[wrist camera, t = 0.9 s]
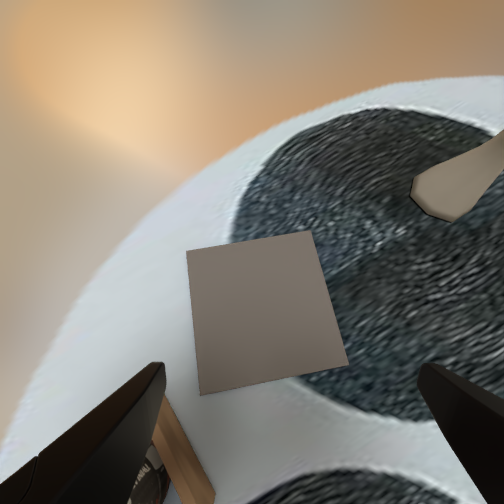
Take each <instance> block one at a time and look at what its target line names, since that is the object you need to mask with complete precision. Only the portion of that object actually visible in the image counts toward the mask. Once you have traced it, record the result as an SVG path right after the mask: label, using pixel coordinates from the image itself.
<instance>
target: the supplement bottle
mask: <svg viewBox="0 0 504 504" xmlns="http://www.w3.org/2000/svg"><path fill="white" fill-rule="evenodd" d="M169 478H170V476H169V474H168V472H167V470H166V468H165V466H164V464H163V461H162V459H161V457H160V455H159V453H158V451H157V449H156V447H155V445H154V442H153V440H151V442H150V445H149V448H148V451H147V453H146V456H145V459H144V461H143V464H142V466H141V469H140V472H139V474H138V477H137V480H136V482H135V485H134V488H133V490H132V493H131V496H130V498H129V501H128V504H163V501H164V499H165V497H166V494H167V490H168V486H169Z"/></svg>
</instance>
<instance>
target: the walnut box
mask: <svg viewBox="0 0 504 504" xmlns="http://www.w3.org/2000/svg"><path fill="white" fill-rule="evenodd" d="M152 440H153V442H154V445H155V447H156V449H157V451H158V453H159V455H160V457H161V459H162V461H163V464H164V466H165V468H166V470H167V472H168V474H169V476H170V478H171V480H172V483H173V485H174V487H175V489H176V491H177V493H178V495H179V497H180V500H181V502H182V504H213V503H214V499H215V492H214V490H213V488H212V486H211V484H210V482H209V480H208V478H207V476H206V474H205V472H204V470H203V468H202V466H201V464H200V462H199V461H198V459H197V457H196V455H195V453H194V451H193V449H192V447H191V445H190V443H189V441H188V439H187V437H186V435H185V433H184V431H183V429H182V427H181V425H180V424H179V422H178V420H177V418H176V416H175V414H174V412H173V410H172V408H171V406H170V404H169V402H168V400H167V398H166V396H165V394H164V396H163V400H162V404H161V407H160V411H159V415H158V418H157V422H156V426H155V429H154V433H153V436H152Z"/></svg>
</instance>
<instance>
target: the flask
mask: <svg viewBox="0 0 504 504" xmlns="http://www.w3.org/2000/svg"><path fill="white" fill-rule="evenodd" d="M503 169H504V130H502V131H501V132H500V133H499V134H497V135H496V136H495V137H494V138H492V139H491V140H489V141H487V142H486V143H484V144H483V145H481V146H479V147H477V148H475V149H473V150H471V151H468V152H466V153H464V154H462V155H460V156H457V157H455V158H453V159H450V160H448V161H445V162H443V163H440V164H438V165H436V166H434V167H431V168H429V169H428V170H426V171H424V172H423V173H421V174H419V175H417V176H416V177H414V180H413V185H412V189H411V194H410V196H411V197H412V198H413V199H414V201H415V202H416V203H417V204H418V205H419V206H420V207H421V208H422V209H423V210H424V211H425V212H426V213H427V214H429V215H432V216H435V217H438V218H441V219H444V220H447V221H450V222H453V221H455V220H456V219H458V218H460V217H461V216H463V215H464V214H466V213H467V212H469V211H470V210H471V209H472V207H473V206H474V205H475V204H476V202H477V201H478V200H479V198H480V197H481V196H482V195H483V193H484V192H485V191H486V189H487V188H488V187H489V186H490V185H491V183H492V182H493V181H494V180H495V179H496V178H497V176H498V175H499V174H500V173H501V172H502V170H503Z"/></svg>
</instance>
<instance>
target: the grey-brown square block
mask: <svg viewBox="0 0 504 504" xmlns="http://www.w3.org/2000/svg"><path fill="white" fill-rule="evenodd" d="M186 254H187V264H188V275H189V285H190V296H191V306H192V316H193V327H194V337H195V348H196V358H197V369H198V379H199V389H200V396H201V395H206V394H211V393H215V392H220V391H225V390H230V389H235V388H240V387H244V386H249V385H254V384H259V383H264V382H269V381H273V380H278V379H283V378H288V377H293V376H297V375H302V374H307V373H312V372H317V371H322V370H326V369H331V368H336V367H341V366H346V365H349V363H348V359H347V356H346V352H345V349H344V345H343V342H342V338H341V335H340V331H339V328H338V325H337V321H336V318H335V314H334V311H333V307H332V304H331V300H330V297H329V293H328V290H327V286H326V283H325V279H324V276H323V272H322V269H321V266H320V262H319V259H318V255H317V252H316V248H315V245H314V241H313V238H312V234H311V231H310V230H309V231H303V232H297V233H291V234H285V235H280V236H274V237H268V238H262V239H256V240H250V241H244V242H238V243H232V244H226V245H220V246H214V247H208V248H202V249H196V250H190V251H186Z"/></svg>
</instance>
